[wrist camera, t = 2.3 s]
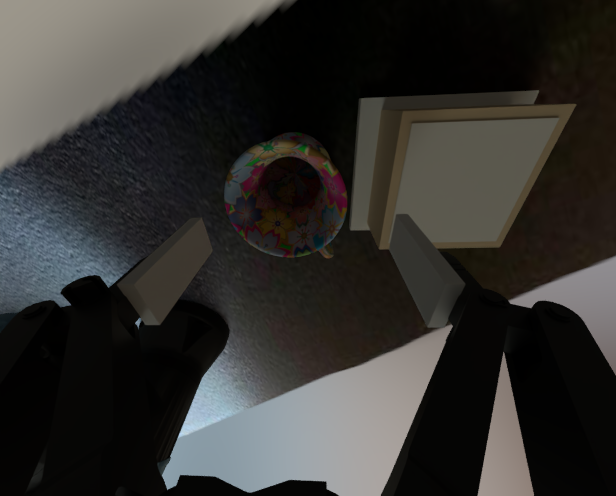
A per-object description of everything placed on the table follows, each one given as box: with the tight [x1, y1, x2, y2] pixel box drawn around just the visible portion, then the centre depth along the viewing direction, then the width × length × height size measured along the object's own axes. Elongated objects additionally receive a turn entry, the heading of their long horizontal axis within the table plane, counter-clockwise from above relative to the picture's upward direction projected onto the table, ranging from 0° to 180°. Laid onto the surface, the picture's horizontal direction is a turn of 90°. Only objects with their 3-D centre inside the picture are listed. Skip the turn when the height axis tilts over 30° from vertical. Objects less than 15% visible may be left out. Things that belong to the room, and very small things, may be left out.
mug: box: [224, 132, 347, 258], centre depth 21 cm, size 12×9×11 cm
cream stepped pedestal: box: [349, 90, 576, 249], centre depth 22 cm, size 16×14×7 cm
